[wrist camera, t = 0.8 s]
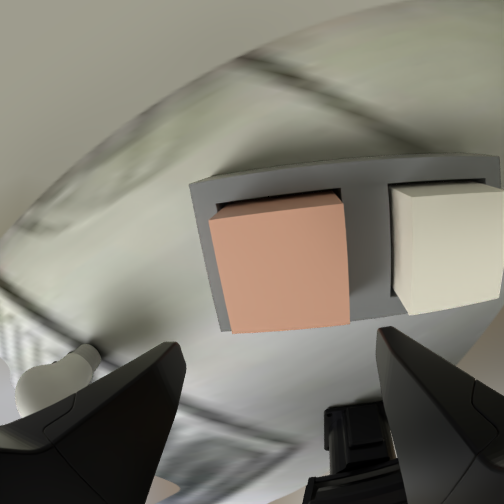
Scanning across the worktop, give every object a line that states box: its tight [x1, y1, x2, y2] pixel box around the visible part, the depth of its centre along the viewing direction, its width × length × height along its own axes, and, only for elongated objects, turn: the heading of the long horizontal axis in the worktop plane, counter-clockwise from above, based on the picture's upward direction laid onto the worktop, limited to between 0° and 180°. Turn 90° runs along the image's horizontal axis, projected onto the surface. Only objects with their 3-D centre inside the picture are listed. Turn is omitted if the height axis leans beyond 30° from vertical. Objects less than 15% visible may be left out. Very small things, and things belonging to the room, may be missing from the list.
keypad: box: [189, 153, 501, 332], centre depth 17 cm, size 9×17×4 cm, turn 100°
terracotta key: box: [208, 190, 350, 334], centre depth 15 cm, size 6×6×4 cm
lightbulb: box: [15, 344, 101, 418], centre depth 20 cm, size 6×6×11 cm
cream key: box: [388, 180, 504, 316], centre depth 14 cm, size 6×6×4 cm
